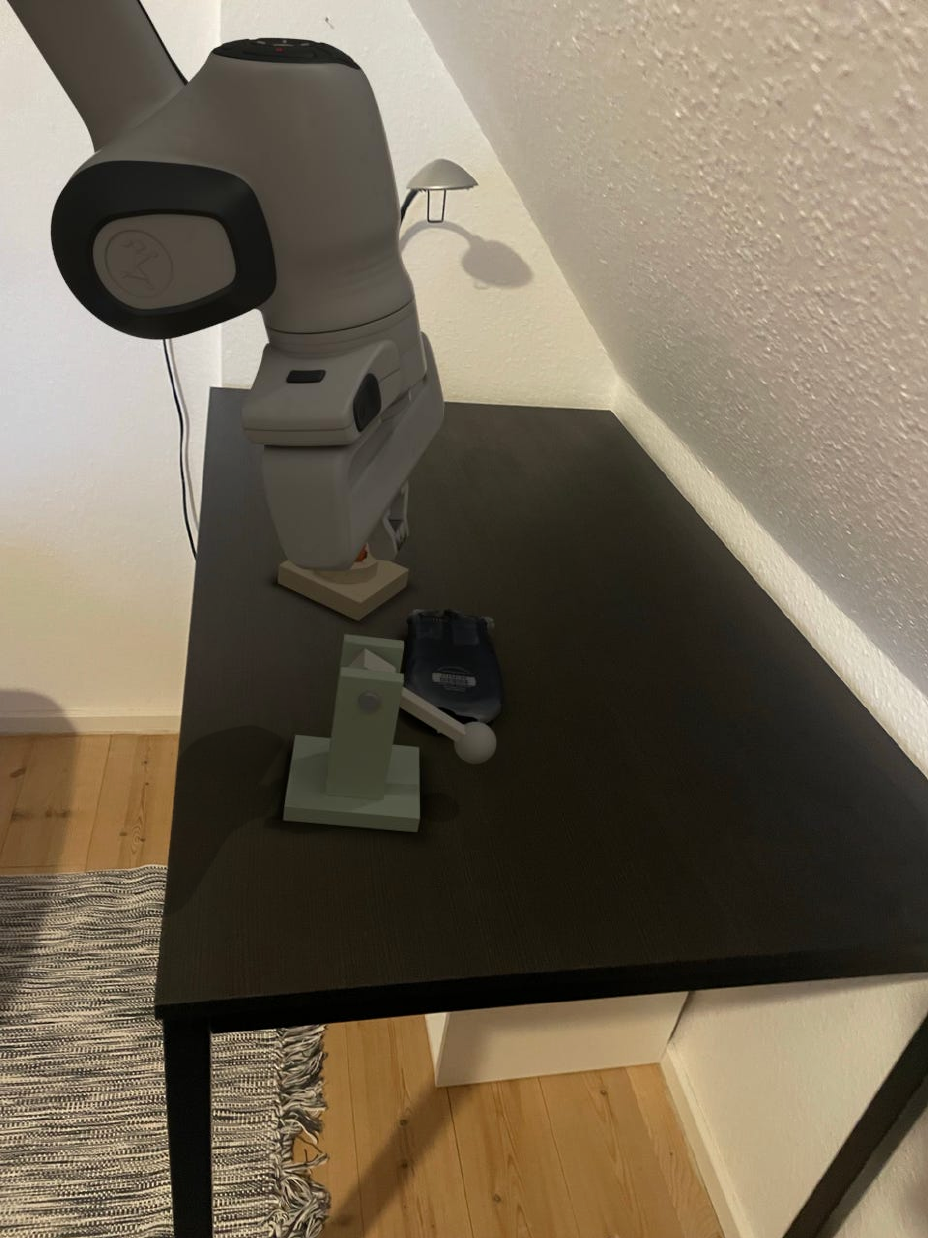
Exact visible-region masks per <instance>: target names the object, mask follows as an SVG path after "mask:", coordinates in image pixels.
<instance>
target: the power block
mask: <svg viewBox="0 0 928 1238" xmlns="http://www.w3.org/2000/svg"><path fill="white" fill-rule="evenodd" d="M409 570H410V569H409V568H406V567H404V566H403V565H400V564H397V563H395V562H394V561H387V560H376V559H374V558H373V557H372V556H371V553H370V549H369V545H368V541H367V543H366V549H365V556H364V559H363V560H362V561H361V562H354V564H353V565H352V567H351V568H350V569H348V570H346V571H318V570H305V569H301V568H299V567H297V566H296V565H294V564H293V563H292V562H291V561H289V559H288V558H287V560H285V561H283V562H281V563H280V564H278V574H277V584H279V585H281V586H283V587H286V588H287V589H290V590H292V591H294V592H295V593H298V594H299V595H302V596H303V597H307V598H308V599H310V600H312V601H315V602H317V603H319V604H321V605H323V606H324V607H327V608H329V609H331V610H334V611H335V612H338V613H340V614H341V615H343V616H346V617H348V618H350V619H353V620H354V621H357V622H359V621H361V620H362V619H364V618H365V617H366V616H367V615H369V614H370V613H372V612H373V611H374V610H376V609H378V608H379V607H380V606H381V605H383V604H384V603H386V602H387V601H388V600H390V599H392V598H393V597H394V596H396V595H397V594H398V593H400V592H401V591H402V590H404V589H405V588H407V583H408V577H409Z"/></svg>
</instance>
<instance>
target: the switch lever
mask: <svg viewBox="0 0 928 1238" xmlns="http://www.w3.org/2000/svg"><path fill="white" fill-rule="evenodd" d="M347 668H356V669H365V670H374V671H383V672H392V673H396V668H395V667H394V666H392V665H391V664H389V663H388V662H386V661H385V660H383V659H381V658H380V657H378V656H377V655H375V654H374V653H372V652H370V651H369V650H367V649H364V650H363V651H362V652H361V653H360V654H359V656H358V657H357V658H356V659H355V660H354V661H353V662H352V663H351V664H350V665H349V666H348V667H347ZM399 708H401V709H402V710H404V711H406V712H407V713H409V714H411V715H412V716H414V717H415V718H417V719H418V720H420V721H422V722H423V723H425V724H426V725H428V726H429V727H431V728H433V729H435V730H436V731H437V730H438V731H439V732H440V734H442V735H444V736H446V737H447V738H449V739H451V740H452V741H453V746H454V750H455V752H456V754H457V756H458V757H459V758H460V760H462V761H463V762H465V763H466V764H470V765H480V764H483V763H486V762H487V761H489V760H490V759H491V758H492V757H493V755H495V752H496V749H497V737H496V734H495V732H494V731H493V729H492V728H491V727H490V726H489V725H487V723H486V724H484V723H481V722H470V723H467V724H465V725H463V724H461V723H460V722H458V721H457V720H455V719H453V718H452V717H450V716H449V715H447V714H445V713H444V712H442V711H441V710H439V709H438V708H436V707H434V706H433V705H431V704H430V703H428V702H426V701H425V700H423V699H422V698H420V697H418V696H417V695H415V694H414V693H412V692H411V691H409V690H407V689H406V688H404V687H403V689H402V695H401V701H400V706H399Z"/></svg>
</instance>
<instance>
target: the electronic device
mask: <svg viewBox="0 0 928 1238" xmlns="http://www.w3.org/2000/svg"><path fill="white" fill-rule="evenodd" d="M439 612H440V609H435V608H433V609H429V610H425V609H419V608H417V609H413V610H411V611H410V612H409V613H408V615H407V617H406V619H405V623H406V624H407V636H406V637H407V639H406V642H405V645H406V653H405V654H406V655H405V656H406V657H405V671H404V672H405V673H404V684H403V687H404V688H406V689H407V690H409V691H411V692H412V693H414V694H415V695H417V696H418V697H420V698H422V699H423V700H425V701H426V702H428V703H430V704H431V705H433V706H434V707H436V708H438V709H439V710H441V711H442V712H444V713H445V714H447V715H449V716H450V717H452V718H453V719H455V720H457V721H458V722H460V723H461V724H463V725H465V724H467V723H470V722H481V723H484V724H486V725H487V724H488V723H490V722H491V721H493V720H494V719H496V718H497V716H499V715H500V713H501V711H502V710H501V709H502V706H503V705H504V697H505V687H504V681H503V674H502V670H501V667H500V662H499V659H498V656H497V652H496V649H495V646H494V644H493V642H492V640H491V636H490V633H491V631H492V630H493V629H494V628H495V626H496V625H495V623H494V619H493V617H490V616H484V615H483V616H481V615H470V614H463V613H462V611H460V610H453V609H450V608H444V609H443V612H441V613H439ZM436 732H437V734H441V732H439V731H438V730H436Z"/></svg>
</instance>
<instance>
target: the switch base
mask: <svg viewBox="0 0 928 1238" xmlns="http://www.w3.org/2000/svg"><path fill="white" fill-rule="evenodd" d="M342 639H343V640H342V648H341V654H340V662H339V671H338V678H337V687H336V692H335V693H336V694H335V702H334V708H333V717H332V726H331V733H330V737H323V736H313V735H302V734H295V735H294V740H293V748H292V753H291V761H290V766H289V773H288V780H287V785H286V793H285V799H284V806H283V816H282V821H286V822H298V823H308V824H319V825H320V824H321V825H331V826H332V825H333V826H343V827H352V828H363V829H375V830H376V829H377V830H387V831H398V832H408V833H409V832H411V833H417V832H418V829H419V825H420V820H421V798H420V797H421V795H420V791H421V790H420V789H421V788H420V787H421V786H420V747H419V746H412V745H411V746H410V745H401V744H394V739H395V735H396V729H397V723H398V717H399V711H400V707H399V706H400V701H401V695H402V689H403V684H404V675H405V673H401V670H402V669H401V668H402V663H403V658H404V657H403V656H404V652H405V651H404V650H405V641H404V640H399V639H398V640H397V639H390V638H380V637H372V636H365V635H355V634H347V633H344V634H343V638H342ZM364 649H367V650H369V651H370V652H372V653H374V654H375V655H377V656H378V657H380V658H381V659H383V660H385V661H386V662H388V663H389V664H391V665H392V666H394V667H395V668H396V673H392V672H383V671H374V670H365V669H356V668H347V667H348V666H349V665H350V664H351V663H352V662H353V661H354V660H355V659H356V658H357V657H358V656H359V654H360V653H361V652H362V651H363V650H364Z"/></svg>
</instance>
